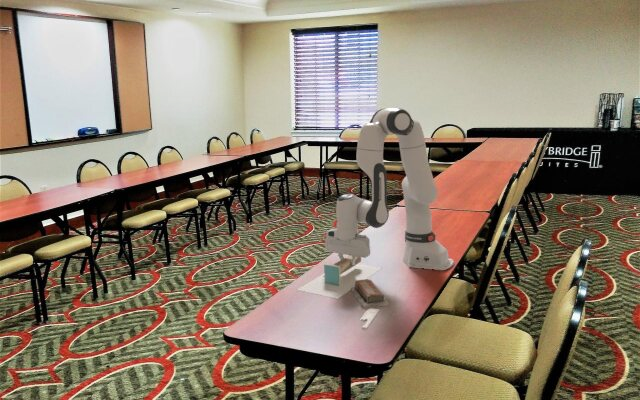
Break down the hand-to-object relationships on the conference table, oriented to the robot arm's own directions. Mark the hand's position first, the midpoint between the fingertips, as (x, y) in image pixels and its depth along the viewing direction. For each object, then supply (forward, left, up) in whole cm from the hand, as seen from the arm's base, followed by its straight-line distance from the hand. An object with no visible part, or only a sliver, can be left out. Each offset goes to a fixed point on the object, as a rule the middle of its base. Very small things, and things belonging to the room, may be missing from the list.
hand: (347, 264), depth 222 cm
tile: (0, +13, -4) cm, 14 cm away
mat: (0, +6, -5) cm, 8 cm away
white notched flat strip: (-27, +34, -5) cm, 44 cm away
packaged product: (-19, +17, -5) cm, 26 cm away
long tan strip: (0, 0, -2) cm, 2 cm away
